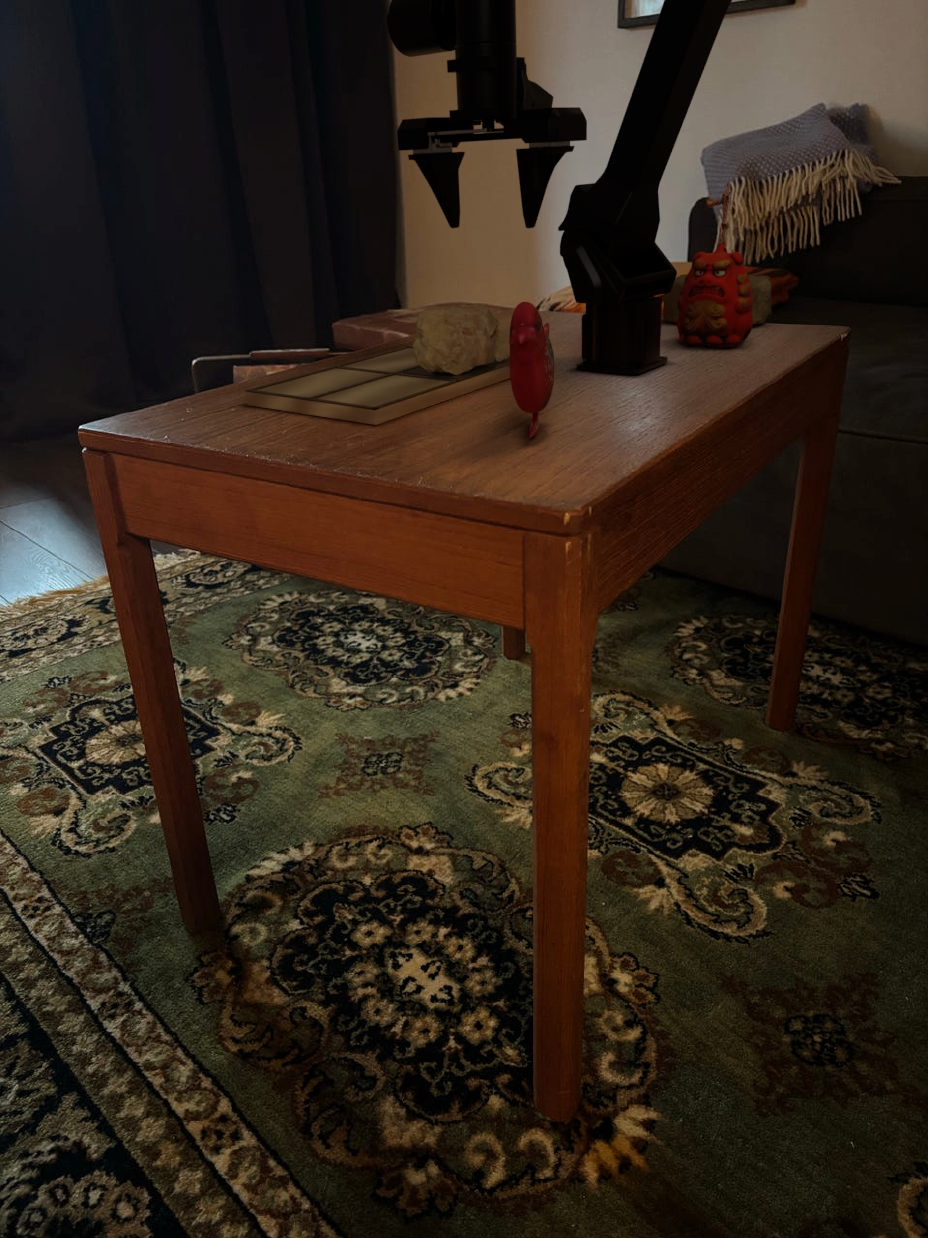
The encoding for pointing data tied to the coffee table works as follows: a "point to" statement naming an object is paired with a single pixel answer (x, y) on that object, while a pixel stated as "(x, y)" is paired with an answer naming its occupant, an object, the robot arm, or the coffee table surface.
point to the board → (373, 388)
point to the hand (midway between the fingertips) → (491, 227)
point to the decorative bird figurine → (530, 362)
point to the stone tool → (459, 338)
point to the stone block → (759, 292)
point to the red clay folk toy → (716, 295)
